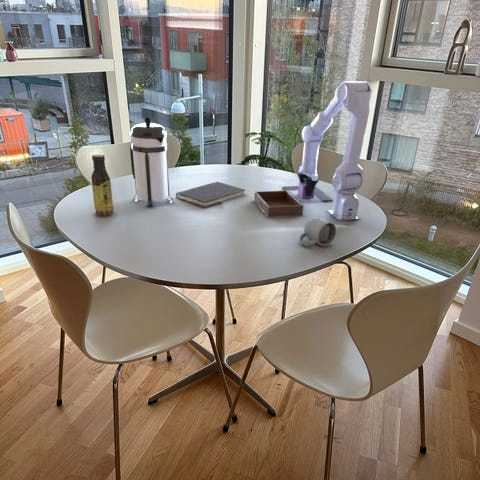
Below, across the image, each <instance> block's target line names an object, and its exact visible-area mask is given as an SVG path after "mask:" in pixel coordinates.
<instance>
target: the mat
mask: <svg viewBox="0 0 480 480" xmlns="http://www.w3.org/2000/svg"><path fill="white" fill-rule="evenodd" d="M298 188H299V185H292V186H291V185H290V186H288V185H287V186H282V189H284V191H286V190H287V191H288V192H289V191H298ZM314 197H316V199H318V200H319V201H321V203H322V202H332V201H333V199H332V198H331V197H329V196H328V195H327V194H325V193H324V192H322V191H321V190H320V189H319V188H318V187H316V186H315V191H314Z"/></svg>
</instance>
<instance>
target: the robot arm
mask: <svg viewBox="0 0 480 480" xmlns="http://www.w3.org/2000/svg"><path fill="white" fill-rule="evenodd" d="M372 95H373V89H372V87H371V85H370V84H369V82H367V81H366V80H363V81H342V82H340V84H339V85H338V87H337V88H336V89H335V95H334V96H333V99H332V100H331V101H330V103H329V104H328V106H327V108H326V109H325V110H322V111H319V112H317V115H316V117H315V118H314V120H313V121H311V123H310V124H309V125H306V126H304V127H303V129H302V131H301V138H302V139H301V140H302V141H303V143H304V144H303V151H302V160H301V165H300V166H299V170H298V171H297V172H298V173H297V177H298V180H299V182H305V186H306V196H311V195H312V193H313V190H314V187H316V185H317V184H318V183H319V181H320V180H319V175H318V174H317V165H318V158H319V157H318V156H319V149H320V147H321V144H322V142H323V140H324V136H325V134H324V133H325V132H326V131H327V130H328V129H329V127H330V126H331V125H332V124H333V119H334V117H335V116H336V114H337V113H339V112H340V111H341V109H342V108H343V107H344V108H345V109H346V111H348V112H349V113H350V115H351V116H350V122H349V127H348V131H347V138H346V143H345V149H344V153H343V159H342V163H340V164H339V166H337V168H336V169H335V173H334V175H333V177H332V180H331V185H332V188H333V190H334V192H335V193H334V200H333V206H332V207H333V208H332V210H328V212H329V213H330V214H331V215H332V216H334V217H335V218H336V219H337V220H344V221H351V220H352V221H353V220H359V217H358V212H359V211H358V210H359V203H360V201H359V198H358V197H357V193H358V192H359V189H360V188H361V187H362V185H363V182H364V177H363V175H364V174H363V173H364V169H363V168H362V167H361V166H360V164H359V163H360V158H361V155H362V150H363V145H364V139H365V134H366V131H367V125H368V120H369V115H370V109H371V108H370V106H371V105H370V103H371V99H372Z"/></svg>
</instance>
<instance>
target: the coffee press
mask: <svg viewBox="0 0 480 480" xmlns="http://www.w3.org/2000/svg"><path fill="white" fill-rule="evenodd" d="M144 122H145V123H140V124H136V125H134V126H133V127H132V128H131V131H130V132H129V134H130V137H131V142H130V147H129V152H130V154H129V155H130V166H131V173H132V177H133V179H134V185H135V194H134V197H133V198H132V199H133V201H134V202H138V200H140V201H142V202H147V208H153V203H157V202H162V201H167V202H168V203H170V204H172V203H173V201H174V199H173V197H172V196H171V193H170V178H169V177H170V175H169V155H168V153H169V152H168V143H167V136H168V132H167V131H166V129H165V127H163V126H162V125H160V124H157V123H151V122H152V118H151V117H150V116H146V117H145V118H144ZM136 197H137V199H136ZM169 198H170V200H169Z"/></svg>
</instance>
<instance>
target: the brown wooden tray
mask: <svg viewBox="0 0 480 480" xmlns="http://www.w3.org/2000/svg"><path fill="white" fill-rule="evenodd" d="M254 203H255V204H256V205H257V206H258V207H259V208H260V210H261V211H262V212H263V213H264V214H265V215H266V217H268V218H273V217H288V216H289V217H290V216H303V213H304V204H302V203H301V202H300V201H299V200H298V199H297V198H296V197H295V196H294V195H293V194H292V193H290V192H289V191H287V190H267V191H266V190H265V191H263V190H262V191H254Z"/></svg>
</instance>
